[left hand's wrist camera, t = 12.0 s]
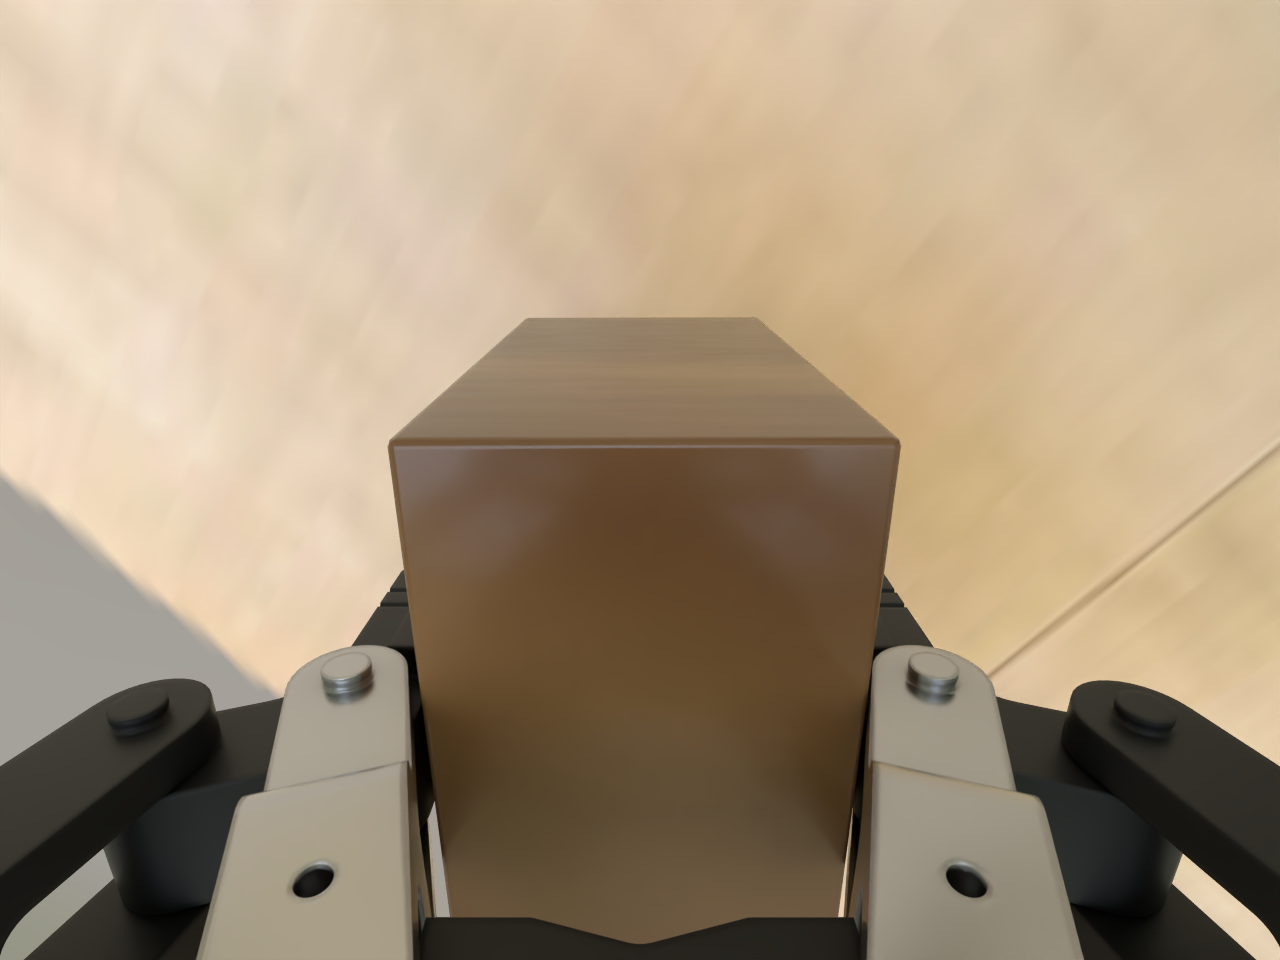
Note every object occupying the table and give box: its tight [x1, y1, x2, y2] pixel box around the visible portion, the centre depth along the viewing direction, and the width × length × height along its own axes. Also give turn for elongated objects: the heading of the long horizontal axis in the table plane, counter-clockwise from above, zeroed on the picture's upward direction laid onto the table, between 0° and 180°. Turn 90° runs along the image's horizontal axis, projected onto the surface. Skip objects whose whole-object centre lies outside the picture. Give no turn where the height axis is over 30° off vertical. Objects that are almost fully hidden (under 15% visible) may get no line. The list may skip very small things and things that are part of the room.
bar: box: [388, 318, 901, 944], centre depth 14 cm, size 22×5×8 cm, turn 0°
